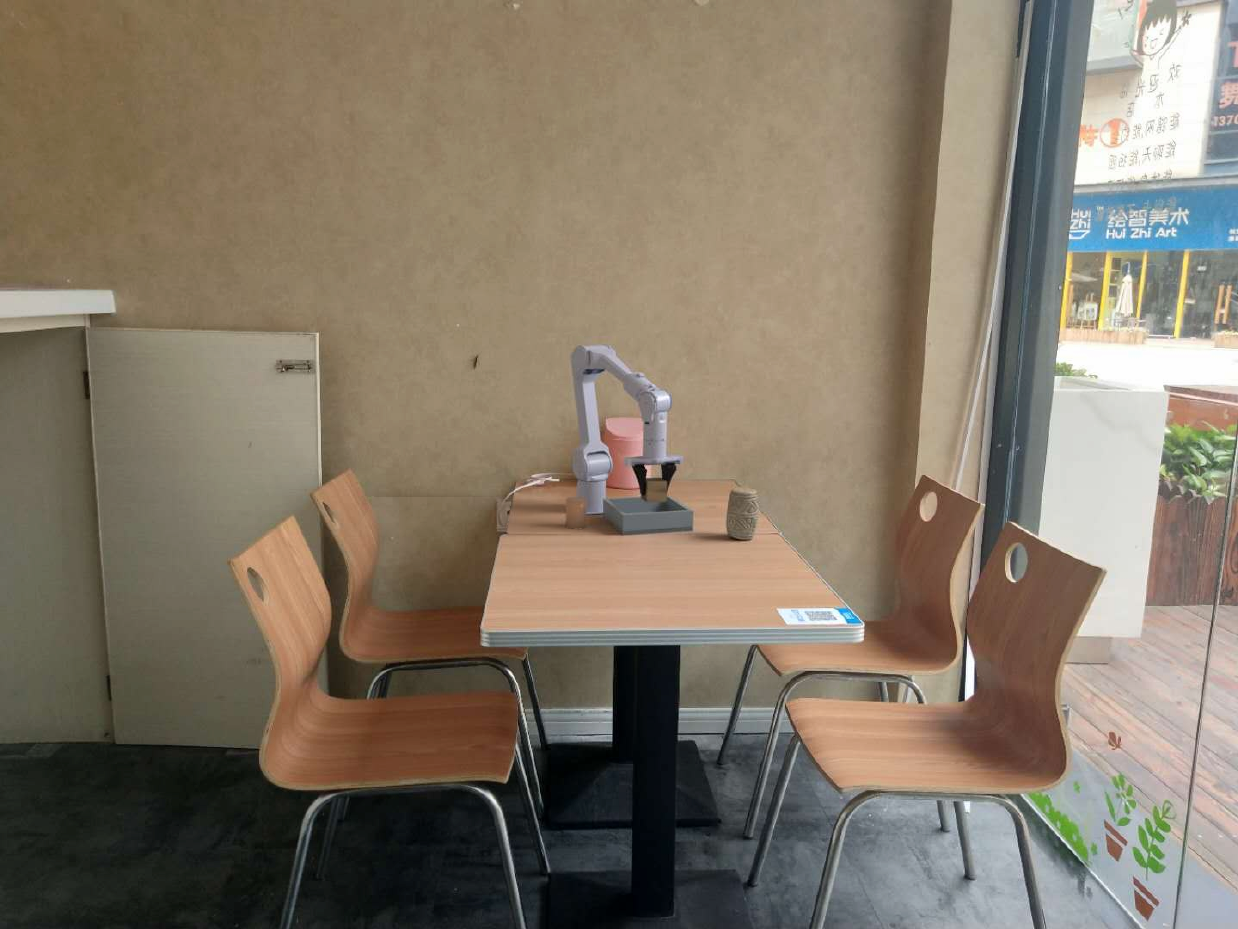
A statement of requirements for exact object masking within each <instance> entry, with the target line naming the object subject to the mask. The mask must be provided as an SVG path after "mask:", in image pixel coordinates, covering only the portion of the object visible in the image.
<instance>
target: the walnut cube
mask: <svg viewBox="0 0 1238 929" xmlns="http://www.w3.org/2000/svg"><path fill="white" fill-rule="evenodd" d="M667 495H668V491H667V481H665V480H664V479H662V477H646V493H645V495H641V494H640V497H641V499H643V500H644V501H646V502H647V503H650V502H667Z"/></svg>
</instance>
